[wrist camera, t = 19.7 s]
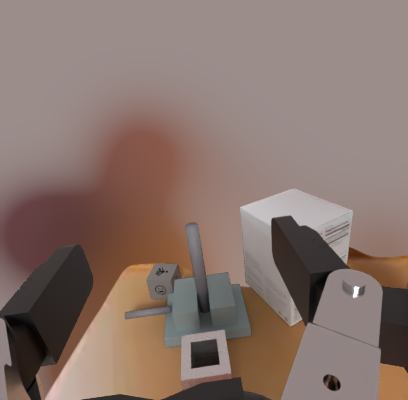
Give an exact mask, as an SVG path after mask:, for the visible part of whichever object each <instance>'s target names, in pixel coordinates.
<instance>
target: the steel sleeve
mask: <svg viewBox="0 0 408 400" xmlns="http://www.w3.org/2000/svg"><path fill="white" fill-rule="evenodd" d="M225 379H232V374H231V368H230V361H229V355H228V349H227V342H226V336H225V330H218V331H211V332H204V333H198V334H191V335H184V336H182V349H181V383H182V387H183V390H186V389H188V388H190V387H193V386H195V385H197V384H200V383H203V382H210V381H217V380H225Z"/></svg>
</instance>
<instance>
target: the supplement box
mask: <svg viewBox="0 0 408 400" xmlns="http://www.w3.org/2000/svg"><path fill="white" fill-rule="evenodd" d="M240 214H241V225H242V238H243V250H244V262H245V263H244V264H245V277H246V283H247V284H248V285H249V286H250V287H251V288H252V289H253V290H254V291H255V292H256V293H257V294H258V295H259V296H260V297H261V298H262V299H263V300H264V301H265V302H266V303H267V304H268V305H269V306H270V307H271V308H272V309H273V310H274V311H275V312H276V313H277V314H278V315H279V316H280V317H281V318H282V319H283V320H284V321H285V322H286V323H287V324H288V325H289V326H293V325H294V324H296V323H298V322H299V321H301V320H302V318H301V316H300V314H299V312H298V310H297V308H296V306H295V304H294V301H293V299H292V297H291V295H290V293H289V291H288V289H287V287H286V285H285V283H284V281H283V279H282V277H281V275H280V273H279V271H278V269H277V267H276V265H275V263H274V259H273V255H272V239H271V220H272V218H274V217H281V216H289V215H291V216H292V217H293V219H294V220H295V221H296V222H297V224H298V225H299V226H303V225H306V226H308V227H310V228H312V229H314V230H315V231H317V232H318V233H319V234H320V236H321V237H322V238H323V240H325V241H326V242H327V243H328V245H329V247H331V248H332V249H333V250H334V251H335V252H336V254H337V255H338V256H339V257H340V258H341V259H342V260H343V261H344V263H345V264H346V265H347V259H348V251H349V242H350V234H351V225H352V218H353V210H350V209H348V208H345V207H342V206H339V205H337V204H334V203H331V202H329V201H326V200H323V199H321V198H318V197H315V196H312V195H310V194H307V193H305V192H302V191H299V190H297V189H294V188H293V189H290V190H287V191H285V192H282V193H279V194H276V195H273V196H271V197H268V198H265V199H262V200H259V201H256V202H253V203H250V204H248V205H245V206H242V207H240Z"/></svg>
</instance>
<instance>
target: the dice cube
mask: <svg viewBox="0 0 408 400" xmlns="http://www.w3.org/2000/svg"><path fill="white" fill-rule="evenodd" d="M176 279H181V277H180V272H179V268H178V264H155V265H154V267H153V269H152V271H151V272H150V274H149V276H148V278H147V284H148V288H149V291H150V295H151V298H152V299H167V300H168V294H169V293H174V281H175V280H176Z"/></svg>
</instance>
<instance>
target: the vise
mask: <svg viewBox="0 0 408 400" xmlns="http://www.w3.org/2000/svg"><path fill="white" fill-rule="evenodd" d="M185 230H186V235H187V241H188V247H189V252H190V257H191V263H192V269H193V275H194V277H190V278H183V279H176V280H175V281H174V293H169V294H168V301H167V306H164V307H157V308H150V309H143V310H136V311H129V312H125V319H132V318H139V317H146V316H153V315H160V314H166V323H165V333H164V341H165V345H166V348H168V347H176V346H182V336H184V335H191V334H198V333H204V332H211V331H218V330H225V336H226V339H233V338H240V337H247V336H251V326H250V323H249V319H248V315H247V311H246V307H245V304H244V300H243V296H242V292H241V288H240V285H239V284H233V285H231V283H230V279H229V274H228V272H226V273H219V274H212V275H207V279H206V273H205V266H204V260H203V254H202V248H201V241H200V234H199V228H198V224H197V223H188V224H187V225H185ZM207 283H208V286H207Z"/></svg>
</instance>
